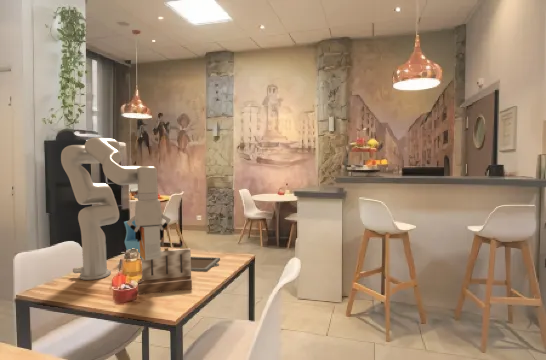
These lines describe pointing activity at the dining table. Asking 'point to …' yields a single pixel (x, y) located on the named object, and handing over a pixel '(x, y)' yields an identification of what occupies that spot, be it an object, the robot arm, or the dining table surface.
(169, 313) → the dining table surface
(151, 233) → the small box
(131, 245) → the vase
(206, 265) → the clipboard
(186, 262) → the display ledge
